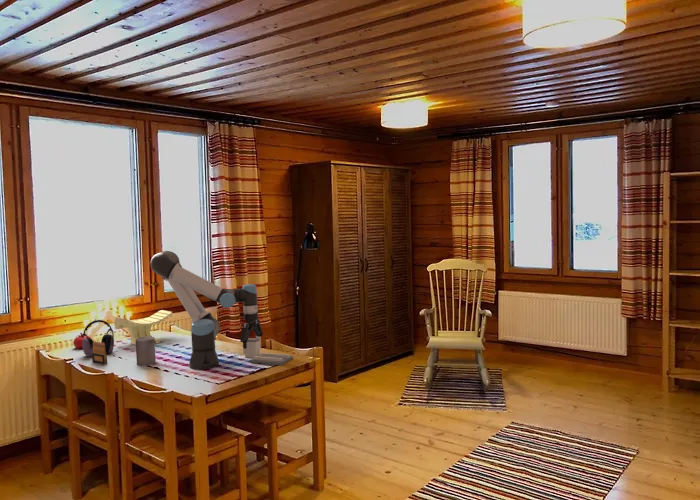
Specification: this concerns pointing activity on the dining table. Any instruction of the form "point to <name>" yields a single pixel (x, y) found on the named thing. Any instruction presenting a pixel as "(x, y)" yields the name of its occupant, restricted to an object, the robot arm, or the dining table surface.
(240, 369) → the dining table surface
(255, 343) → the grey rectangular block
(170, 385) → the dining table surface
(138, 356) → the pillar candle
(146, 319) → the slatted curved stool
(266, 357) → the end holder
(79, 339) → the pomegranate
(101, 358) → the ammunition clip
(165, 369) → the dining table surface
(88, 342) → the headphones
